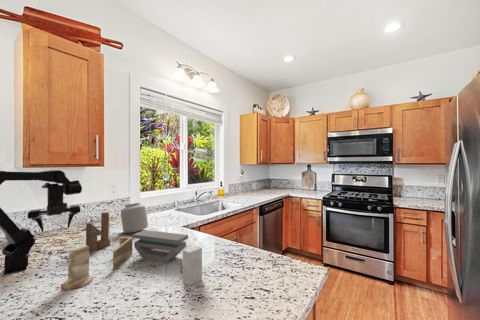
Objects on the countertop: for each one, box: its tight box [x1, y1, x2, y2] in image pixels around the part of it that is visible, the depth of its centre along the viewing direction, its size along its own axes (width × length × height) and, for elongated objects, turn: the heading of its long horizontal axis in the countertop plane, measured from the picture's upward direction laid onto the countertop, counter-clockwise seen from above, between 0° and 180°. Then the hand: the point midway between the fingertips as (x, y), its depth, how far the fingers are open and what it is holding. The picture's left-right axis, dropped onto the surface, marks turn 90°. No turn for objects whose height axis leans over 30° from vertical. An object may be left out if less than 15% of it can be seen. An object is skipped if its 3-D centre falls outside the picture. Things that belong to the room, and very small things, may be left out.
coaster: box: [61, 274, 94, 291], centre depth 80 cm, size 9×9×1 cm
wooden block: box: [85, 211, 111, 253], centre depth 114 cm, size 4×11×18 cm, turn 158°
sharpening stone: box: [132, 229, 189, 264], centre depth 102 cm, size 25×8×11 cm, turn 71°
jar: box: [120, 202, 149, 234], centre depth 143 cm, size 19×15×25 cm
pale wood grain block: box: [67, 244, 90, 285], centre depth 81 cm, size 4×5×12 cm
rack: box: [112, 236, 134, 271], centre depth 99 cm, size 6×17×8 cm, turn 4°
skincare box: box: [182, 245, 203, 287], centre depth 82 cm, size 6×4×12 cm
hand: (55, 229), depth 103 cm, fingers open, 9 cm apart
